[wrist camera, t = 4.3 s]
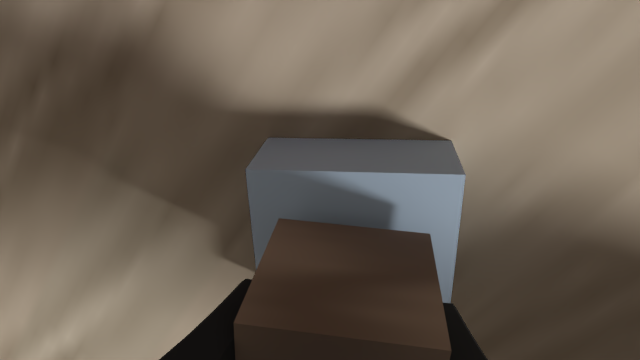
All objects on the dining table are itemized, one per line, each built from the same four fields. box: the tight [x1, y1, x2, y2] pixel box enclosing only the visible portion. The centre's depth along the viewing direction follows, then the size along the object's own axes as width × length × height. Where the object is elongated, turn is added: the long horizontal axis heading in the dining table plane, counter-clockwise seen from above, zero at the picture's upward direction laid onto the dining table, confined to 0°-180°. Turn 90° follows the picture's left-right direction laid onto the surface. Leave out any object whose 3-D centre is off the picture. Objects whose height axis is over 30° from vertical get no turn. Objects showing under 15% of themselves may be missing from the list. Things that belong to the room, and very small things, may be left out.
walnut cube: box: [233, 218, 452, 360], centre depth 11 cm, size 4×4×4 cm
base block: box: [245, 138, 465, 303], centre depth 15 cm, size 6×6×3 cm
